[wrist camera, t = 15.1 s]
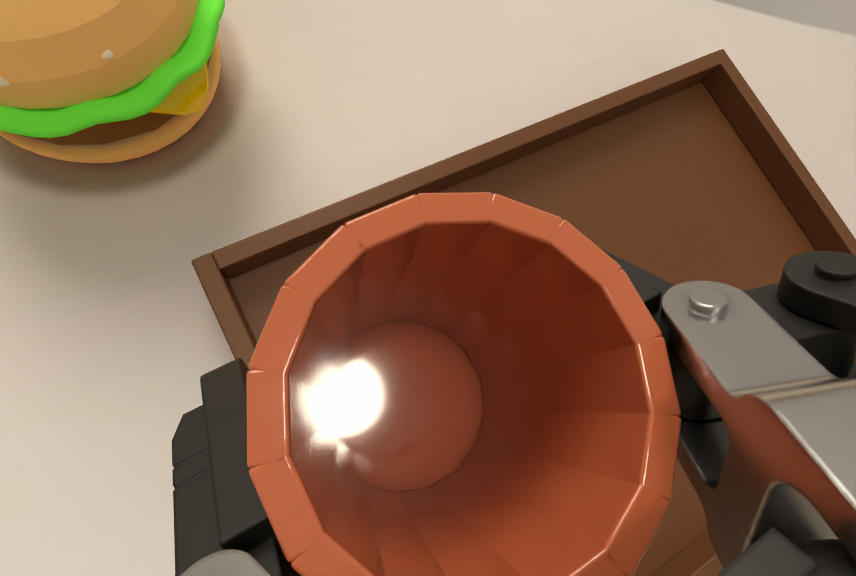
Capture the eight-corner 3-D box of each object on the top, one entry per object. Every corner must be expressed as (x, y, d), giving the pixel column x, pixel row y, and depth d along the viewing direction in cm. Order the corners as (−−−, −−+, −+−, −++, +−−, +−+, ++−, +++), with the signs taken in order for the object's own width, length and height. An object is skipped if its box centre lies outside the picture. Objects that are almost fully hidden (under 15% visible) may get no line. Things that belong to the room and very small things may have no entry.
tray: (430, 767, 17) (442, 817, 15) (205, 275, 19) (190, 260, 17) (904, 382, 25) (954, 379, 23) (695, 73, 28) (723, 47, 26)
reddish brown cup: (357, 546, 13) (381, 781, 5) (271, 361, 14) (168, 293, 6) (524, 441, 14) (756, 483, 6) (438, 281, 15) (545, 138, 7)
